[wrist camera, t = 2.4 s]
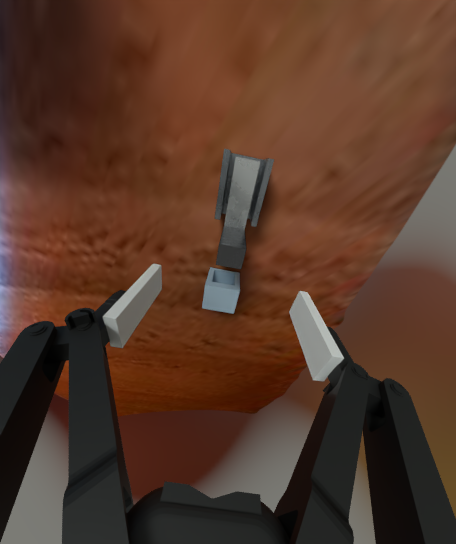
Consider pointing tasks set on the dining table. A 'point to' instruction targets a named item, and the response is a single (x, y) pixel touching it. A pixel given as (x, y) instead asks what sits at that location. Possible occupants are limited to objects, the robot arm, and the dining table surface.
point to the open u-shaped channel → (258, 189)
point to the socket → (221, 290)
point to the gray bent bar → (237, 213)
